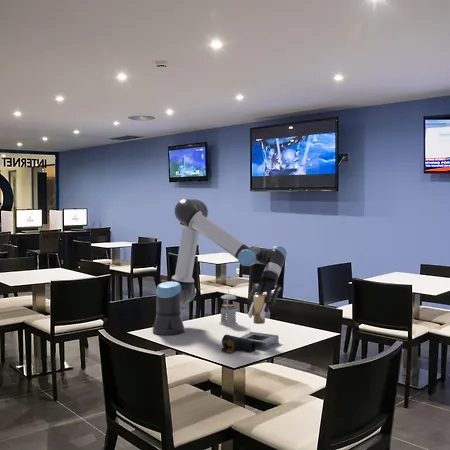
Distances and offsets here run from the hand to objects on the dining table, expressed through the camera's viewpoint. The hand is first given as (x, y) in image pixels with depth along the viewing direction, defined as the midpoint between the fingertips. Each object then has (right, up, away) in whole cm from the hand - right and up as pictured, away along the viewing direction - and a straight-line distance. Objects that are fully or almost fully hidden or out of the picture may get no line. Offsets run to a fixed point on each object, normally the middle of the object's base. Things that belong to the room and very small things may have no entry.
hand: (255, 316), depth 222 cm
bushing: (+2, -3, +3) cm, 5 cm away
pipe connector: (-9, -14, -6) cm, 18 cm away
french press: (-12, -12, +45) cm, 48 cm away
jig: (+1, -13, +4) cm, 13 cm away
